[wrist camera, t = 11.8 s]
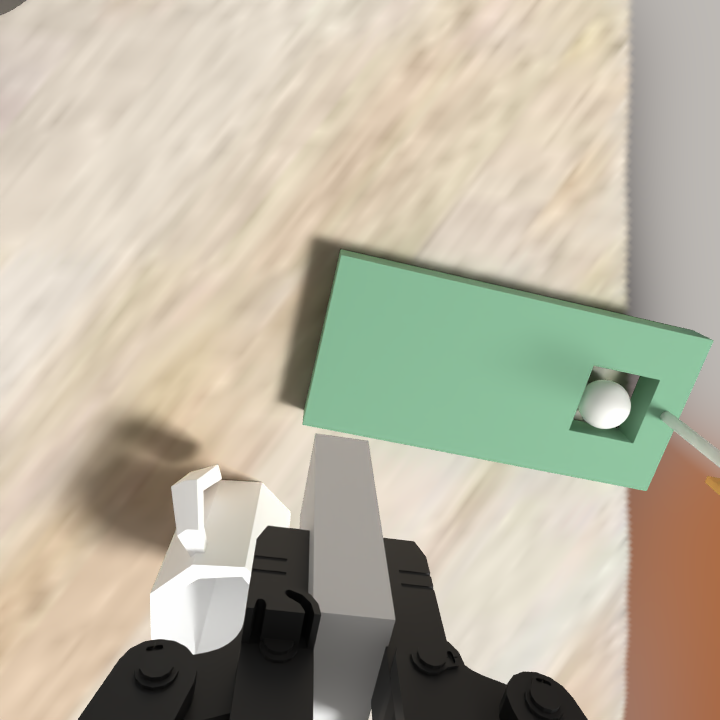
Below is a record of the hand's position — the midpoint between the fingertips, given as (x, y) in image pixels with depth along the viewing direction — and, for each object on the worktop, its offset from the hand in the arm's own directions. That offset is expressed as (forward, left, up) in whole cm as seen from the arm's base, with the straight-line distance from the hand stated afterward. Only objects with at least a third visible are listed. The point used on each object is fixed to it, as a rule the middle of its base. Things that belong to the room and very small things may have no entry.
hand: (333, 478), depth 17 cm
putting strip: (+3, +13, -25) cm, 29 cm away
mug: (+18, -4, -25) cm, 32 cm away
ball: (+4, +21, -24) cm, 32 cm away
